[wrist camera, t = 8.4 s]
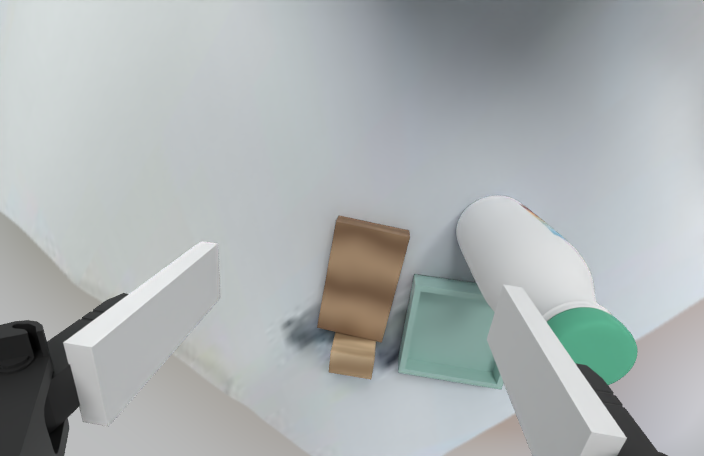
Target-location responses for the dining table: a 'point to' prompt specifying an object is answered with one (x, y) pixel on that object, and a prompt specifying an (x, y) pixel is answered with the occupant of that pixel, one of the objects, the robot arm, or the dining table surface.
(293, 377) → the dining table surface
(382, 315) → the tan wooden board
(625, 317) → the dining table surface
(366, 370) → the block
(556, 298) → the milk bottle
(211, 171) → the dining table surface
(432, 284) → the tray
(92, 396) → the robot arm
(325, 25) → the dining table surface
